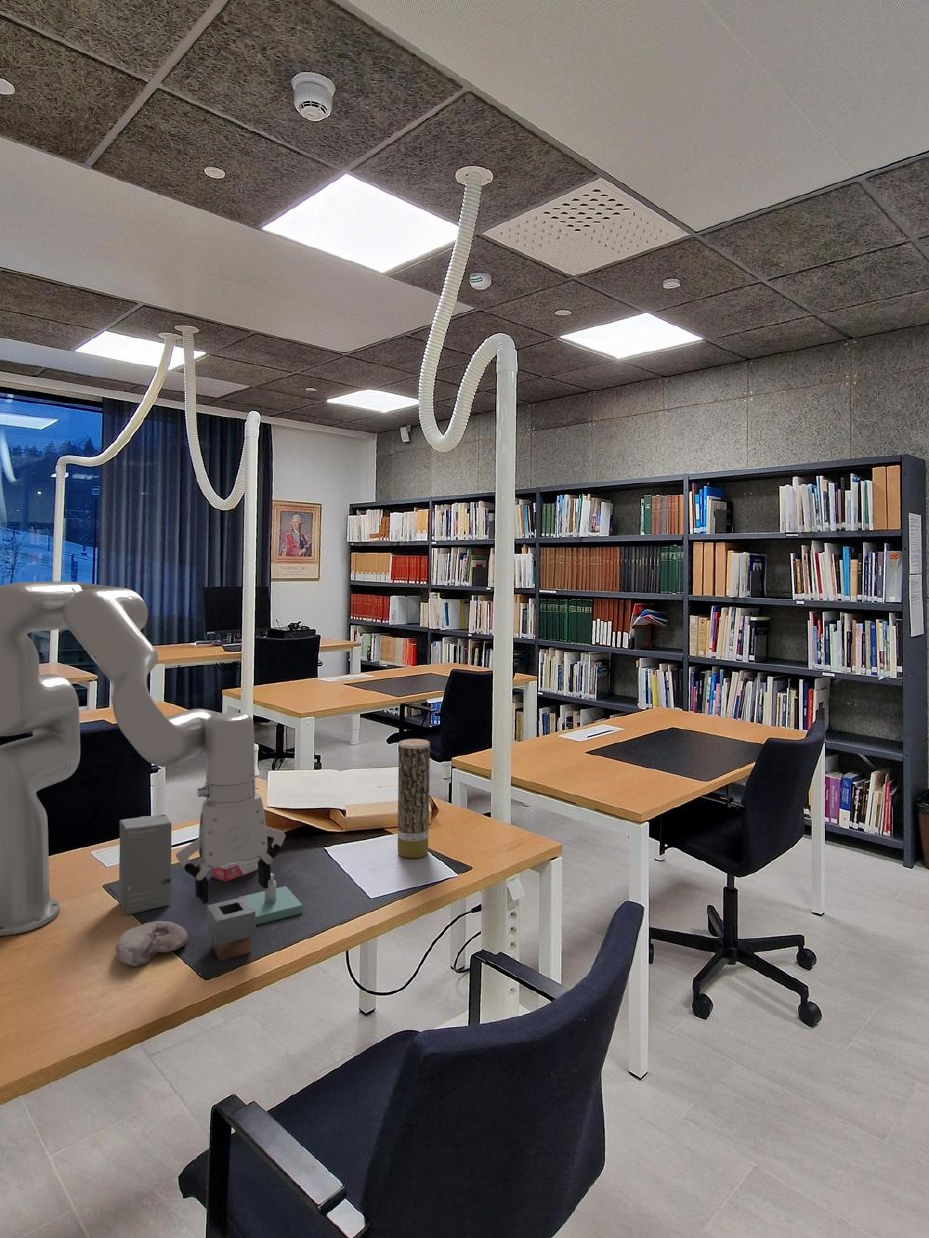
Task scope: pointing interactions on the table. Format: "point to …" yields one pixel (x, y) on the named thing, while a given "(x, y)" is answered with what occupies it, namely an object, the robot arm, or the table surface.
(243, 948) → the stand
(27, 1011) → the table surface
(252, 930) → the collar
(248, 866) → the ink box
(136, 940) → the fossil
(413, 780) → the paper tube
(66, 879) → the table surface
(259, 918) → the green peg base
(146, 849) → the skincare box
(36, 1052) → the table surface
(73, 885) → the table surface
